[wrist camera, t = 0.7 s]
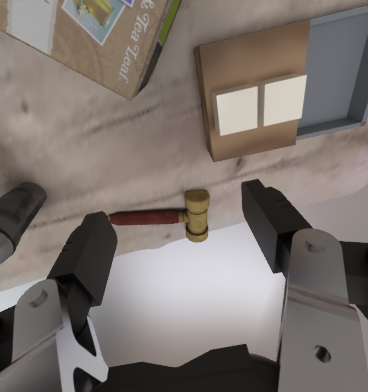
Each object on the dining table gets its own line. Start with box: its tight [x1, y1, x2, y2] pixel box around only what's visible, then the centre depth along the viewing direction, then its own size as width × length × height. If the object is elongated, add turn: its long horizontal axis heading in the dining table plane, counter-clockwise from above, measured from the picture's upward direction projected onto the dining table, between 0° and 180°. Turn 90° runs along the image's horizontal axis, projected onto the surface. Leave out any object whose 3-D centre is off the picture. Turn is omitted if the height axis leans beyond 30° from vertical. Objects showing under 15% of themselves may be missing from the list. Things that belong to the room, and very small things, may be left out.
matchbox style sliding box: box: [194, 19, 311, 162], centre depth 27 cm, size 14×12×5 cm
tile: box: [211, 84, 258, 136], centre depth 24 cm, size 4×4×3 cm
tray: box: [296, 5, 368, 140], centre depth 27 cm, size 14×11×4 cm
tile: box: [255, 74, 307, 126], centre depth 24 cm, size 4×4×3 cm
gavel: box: [107, 190, 210, 242], centre depth 39 cm, size 21×5×10 cm
